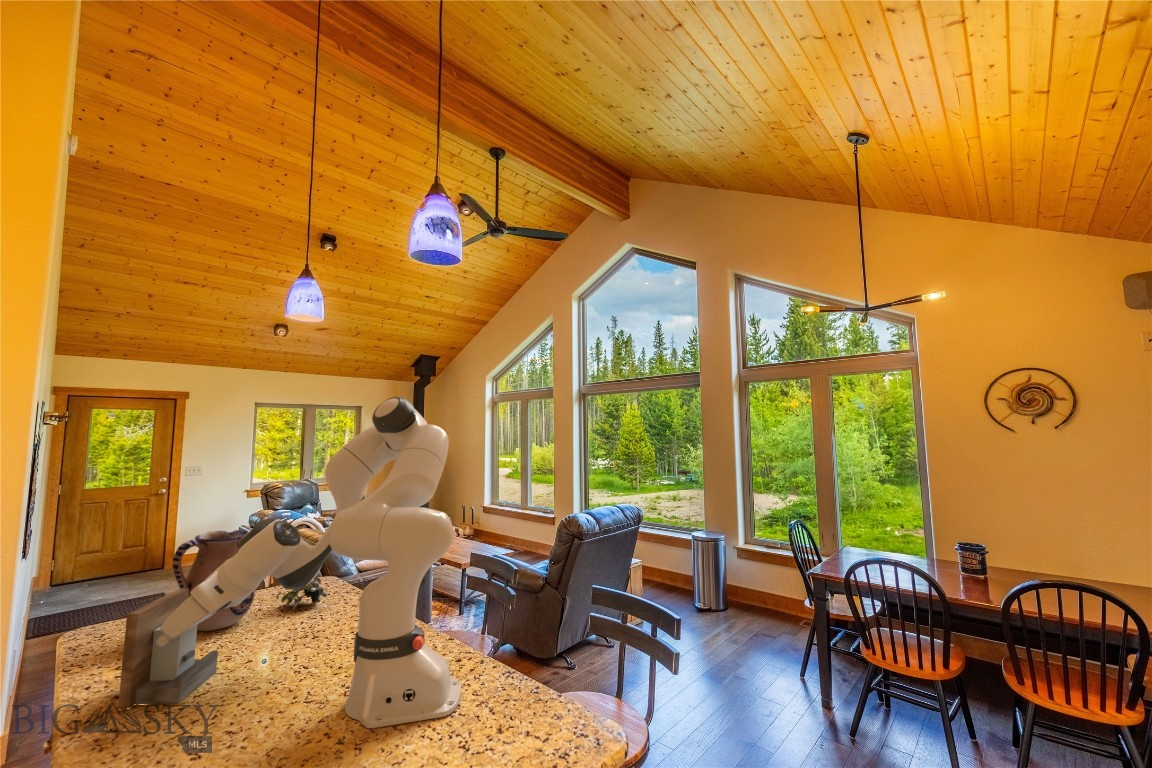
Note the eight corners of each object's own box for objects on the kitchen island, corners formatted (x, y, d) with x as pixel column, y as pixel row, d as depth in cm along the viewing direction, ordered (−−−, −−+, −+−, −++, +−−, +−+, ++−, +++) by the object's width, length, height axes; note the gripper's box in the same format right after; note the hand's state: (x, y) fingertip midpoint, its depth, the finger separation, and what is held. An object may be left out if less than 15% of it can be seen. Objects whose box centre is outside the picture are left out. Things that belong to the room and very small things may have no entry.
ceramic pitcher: (267, 616, 147) (274, 529, 150) (202, 646, 127) (211, 544, 129) (216, 611, 150) (223, 526, 153) (144, 640, 130) (154, 540, 132)
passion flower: (312, 621, 158) (337, 589, 160) (286, 627, 148) (312, 593, 149) (292, 596, 162) (316, 565, 164) (265, 600, 152) (291, 567, 153)
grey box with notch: (197, 666, 110) (201, 618, 111) (180, 679, 104) (184, 629, 105) (168, 667, 109) (173, 619, 110) (149, 681, 103) (154, 630, 104)
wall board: (219, 669, 115) (226, 587, 117) (174, 707, 99) (182, 612, 101) (171, 671, 114) (179, 588, 115) (117, 710, 98) (127, 614, 99)
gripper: (243, 562, 119) (194, 606, 117) (190, 589, 99) (130, 643, 97) (262, 581, 119) (213, 626, 117) (213, 611, 99) (153, 666, 97)
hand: (175, 634), depth 107 cm, fingers open, 8 cm apart
